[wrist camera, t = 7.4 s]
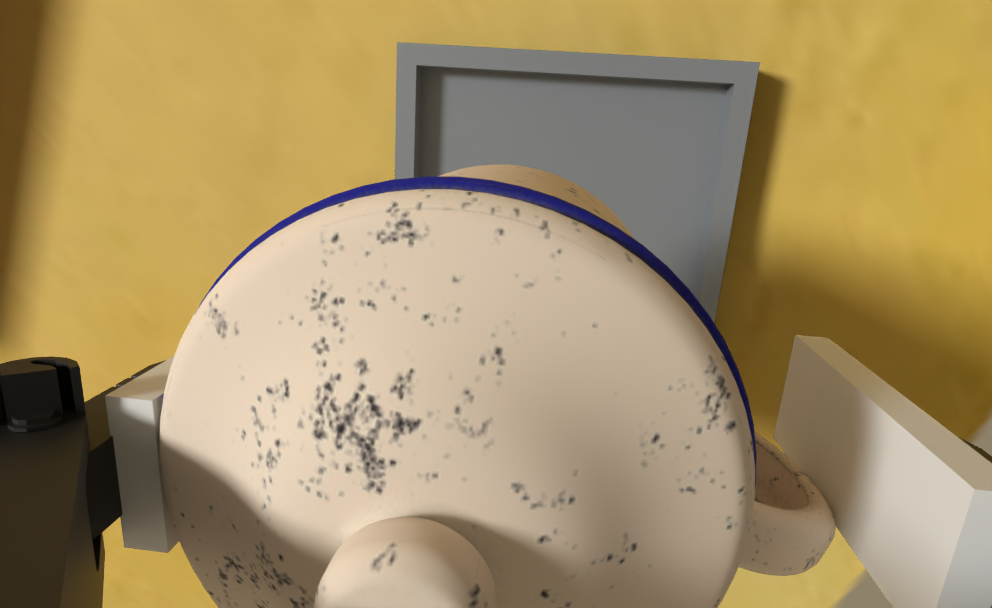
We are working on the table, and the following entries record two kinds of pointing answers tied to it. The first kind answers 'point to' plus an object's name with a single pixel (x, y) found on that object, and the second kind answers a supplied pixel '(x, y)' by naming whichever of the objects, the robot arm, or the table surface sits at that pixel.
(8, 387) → the robot arm
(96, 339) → the table surface
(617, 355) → the teacup with lid
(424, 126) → the tray
